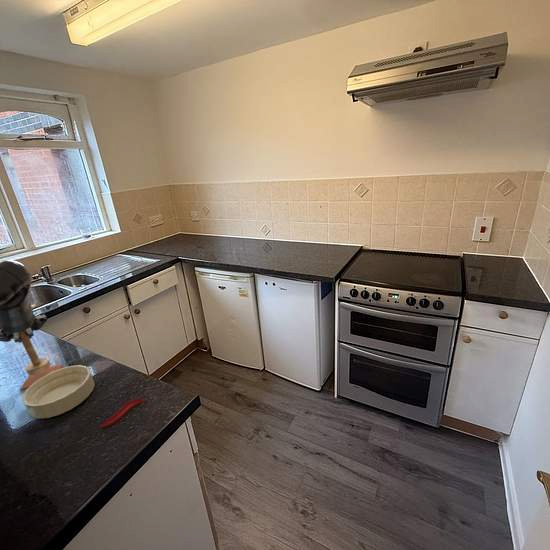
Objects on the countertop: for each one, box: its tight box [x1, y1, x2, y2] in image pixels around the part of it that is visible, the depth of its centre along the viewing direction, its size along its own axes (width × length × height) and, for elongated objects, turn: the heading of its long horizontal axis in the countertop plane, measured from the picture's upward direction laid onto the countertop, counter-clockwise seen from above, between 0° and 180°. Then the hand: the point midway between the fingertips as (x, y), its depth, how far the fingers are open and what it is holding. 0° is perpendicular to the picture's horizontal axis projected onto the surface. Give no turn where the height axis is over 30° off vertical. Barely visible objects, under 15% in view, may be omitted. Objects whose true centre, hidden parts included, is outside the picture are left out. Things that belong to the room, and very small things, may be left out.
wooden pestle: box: [19, 330, 51, 376], centre depth 93 cm, size 6×6×15 cm
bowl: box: [21, 364, 96, 420], centre depth 86 cm, size 16×16×5 cm
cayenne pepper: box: [99, 398, 147, 428], centre depth 79 cm, size 12×5×2 cm, turn 126°
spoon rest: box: [19, 363, 64, 391], centre depth 97 cm, size 9×9×1 cm
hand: (24, 338), depth 93 cm, fingers closed on wooden pestle
